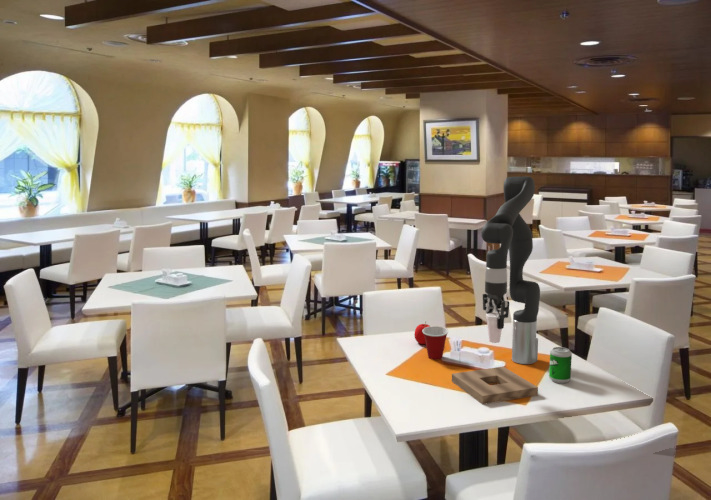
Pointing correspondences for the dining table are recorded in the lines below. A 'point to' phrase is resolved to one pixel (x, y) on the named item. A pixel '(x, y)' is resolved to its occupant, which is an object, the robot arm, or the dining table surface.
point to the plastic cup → (435, 341)
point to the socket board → (504, 390)
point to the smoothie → (493, 328)
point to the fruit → (420, 333)
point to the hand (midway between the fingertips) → (494, 325)
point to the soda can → (560, 365)
